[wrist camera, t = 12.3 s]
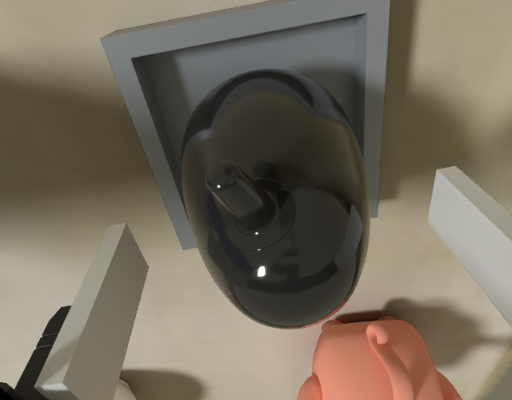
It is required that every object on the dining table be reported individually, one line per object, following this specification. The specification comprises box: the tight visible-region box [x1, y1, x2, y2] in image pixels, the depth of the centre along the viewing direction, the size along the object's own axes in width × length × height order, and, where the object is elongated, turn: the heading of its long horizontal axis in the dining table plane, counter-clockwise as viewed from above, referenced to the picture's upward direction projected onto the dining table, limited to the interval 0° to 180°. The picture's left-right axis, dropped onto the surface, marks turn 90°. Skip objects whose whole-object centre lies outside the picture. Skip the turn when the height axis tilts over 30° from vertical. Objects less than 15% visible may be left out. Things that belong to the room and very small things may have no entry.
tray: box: [100, 0, 390, 250], centre depth 23 cm, size 15×15×3 cm
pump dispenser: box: [181, 69, 370, 329], centre depth 17 cm, size 10×10×15 cm
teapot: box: [297, 315, 462, 400], centre depth 35 cm, size 15×17×13 cm
